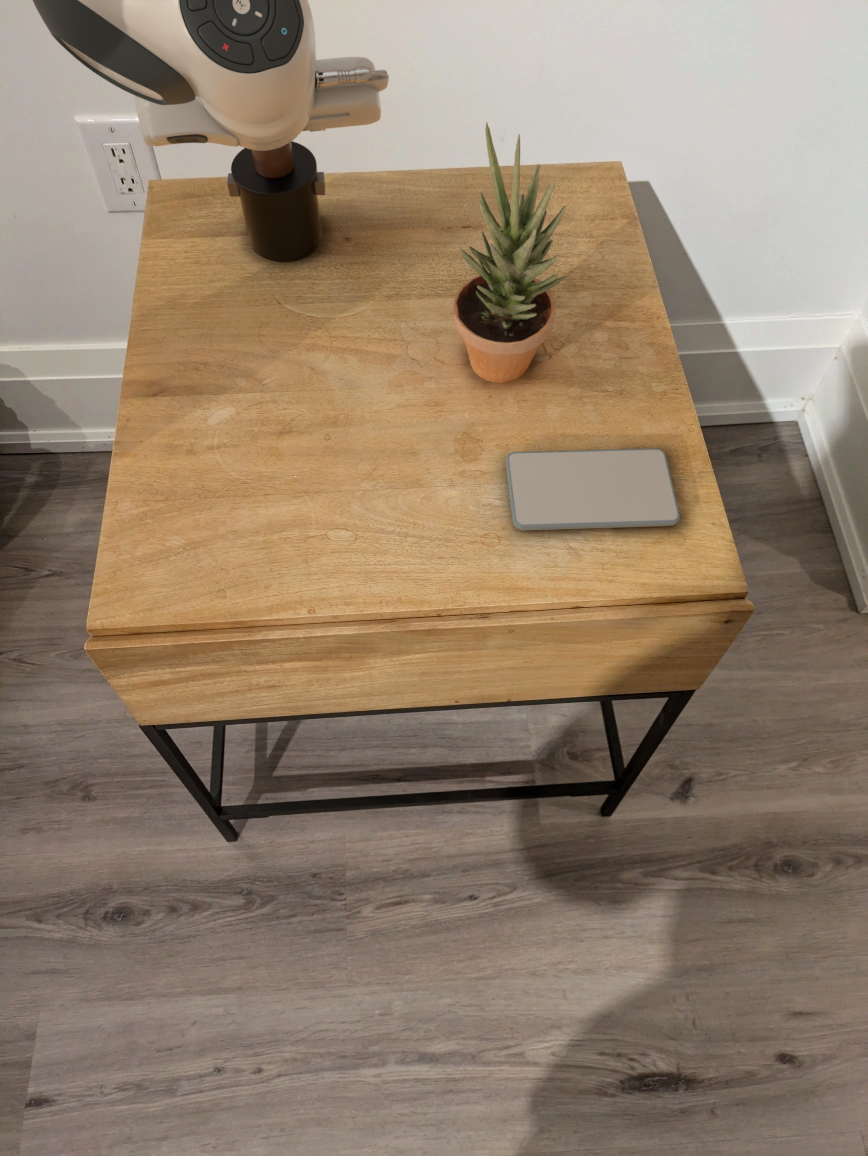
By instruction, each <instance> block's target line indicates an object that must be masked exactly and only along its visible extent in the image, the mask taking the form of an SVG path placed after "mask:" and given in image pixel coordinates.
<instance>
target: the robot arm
mask: <svg viewBox="0 0 868 1156" xmlns="http://www.w3.org/2000/svg"><path fill="white" fill-rule="evenodd" d="M32 2H33V5H34V6H35V9H36V10H37V13H38V14H39V16H40V17H41V19H42V21H43V23H44V25H45V27H46V28H47V30H48V31H49V34H51V36H52V38H54V39H55V41H57V42H58V44H59V45H60V46H61V47H63V48H64V49H65V50H66V51H67V52H68V53H69V54H70V55H71V56H72V57H73V58H75V59H76V60H77V61H78V62H80V63H81V64H82V65H83V66H85V67H86V68H87V69H88V70H90V71H91V72H93V73H94V74H96V75H97V76H99V77H100V78H102V79H103V80H105V81H106V82H108V83H109V84H112V85H114V86H115V87H117V88H119V89H120V90H122V91H124V92H126V93H129V94H131V95H133V96H134V102H135V108H136V113H137V117H138V122H139V127H140V131H141V135H142V140H143V142H144V143H145V144H146V146H150V147H162V146H170V145H179V144H181V145H182V144H206V143H207V144H216V145H220V146H221V145H222V146H226V147H234V148H235V147H242V148H243V149H244V148H247V149H251V150H258V151H267V150H273V149H277V148H280V147H282V146H284V145H286V144H288V143H290V142H291V141H293V142H294V140H295V139H296V138H298V136H299V135H300V134H301V133H302V132H311V133H312V132H322V131H323V132H324V131H326V130H329V129H338V128H339V129H340V128H348V127H357V126H359V127H360V126H368V125H372V124H375V123H377V122H379V121H380V120H381V118H382V106H381V98H380V92H382V91H384V90H385V89H387V87H388V86H389V81H390V76H389V74H388V71H387V70H386V69H376V67H375V65H374V62H373V61H372V60H371V59H369V58H368V57H362V56H344V57H334V58H333V57H332V58H322V59H317V47H316V43H317V41H316V32H315V25H314V23H315V22H314V18H313V13H312V9H311V6H310V2H309V1H308V0H32Z"/></svg>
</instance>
